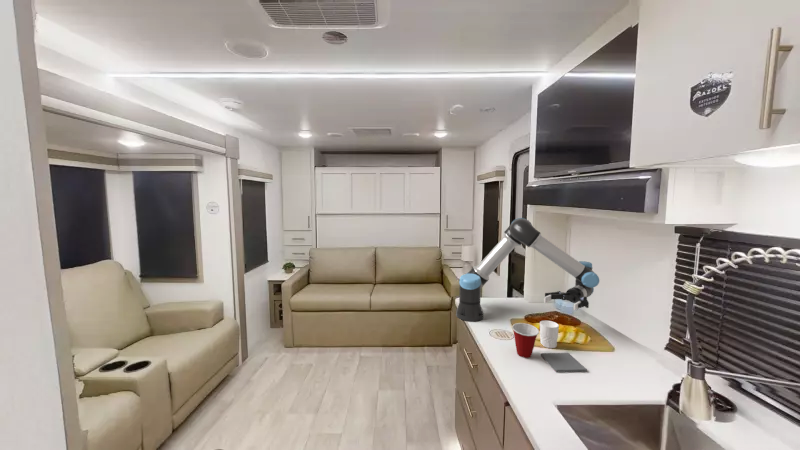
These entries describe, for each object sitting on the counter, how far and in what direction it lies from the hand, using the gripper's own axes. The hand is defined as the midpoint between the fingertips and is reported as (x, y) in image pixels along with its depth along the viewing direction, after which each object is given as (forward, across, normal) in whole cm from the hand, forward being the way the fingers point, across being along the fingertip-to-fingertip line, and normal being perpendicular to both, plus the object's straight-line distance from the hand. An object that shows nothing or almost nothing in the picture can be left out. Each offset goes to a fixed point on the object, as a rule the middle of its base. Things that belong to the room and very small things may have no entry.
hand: (558, 303), depth 149 cm
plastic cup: (+27, -3, +17) cm, 32 cm away
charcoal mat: (+22, +11, +17) cm, 30 cm away
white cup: (+10, 0, +17) cm, 20 cm away
